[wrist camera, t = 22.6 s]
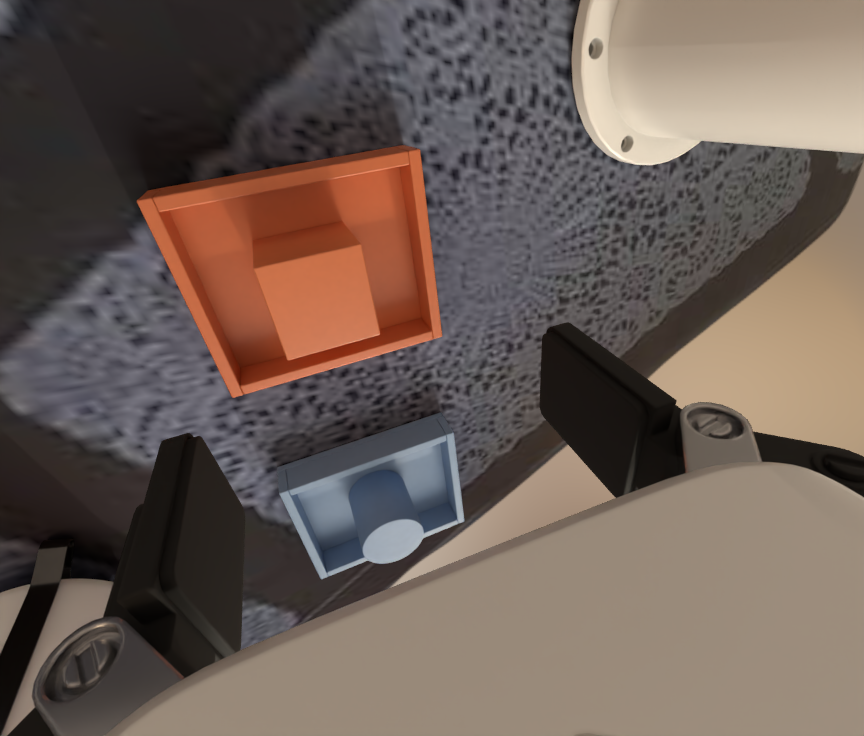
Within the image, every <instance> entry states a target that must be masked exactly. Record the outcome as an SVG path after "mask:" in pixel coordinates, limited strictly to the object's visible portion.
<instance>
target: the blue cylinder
mask: <svg viewBox="0 0 864 736" xmlns="http://www.w3.org/2000/svg"><path fill="white" fill-rule="evenodd" d="M349 502H350V506H351V510H352V514H353V518H354V521H355V525H356V529H357V533H358V537H359V541H360V545H361V548H362V552H363V555H364V557H365V558H366V559H367V560H369V561H371V562H373V563H380V564H383V563H390V562H394V561H397V560H400V559H402V558H404V557H406V556H407V555H409V554H410V553H412V552H413V551H414V550H415V549H416V548H417V547H418V546H419V544H420V543H421V541H422V539H423V535H424V529H423V526H422V524H421V522H420V519H419V517H418V514H417V512H416V510H415V507H414V505H413V502H412V500H411V498H410V495H409V493H408V490H407V488H406V486H405V483H404V481H403V479H402V477H401V476H400V475H399V474H397V473H396V472H393V471H389V470H380V471H375V472H371V473H369V474H367V475H365V476H363V477H362V478H360V479H359V480H358V481H357V482H356V483H355V484H354V485H353V487H352V488H351V490H350V493H349Z"/></svg>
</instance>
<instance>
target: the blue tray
mask: <svg viewBox="0 0 864 736" xmlns="http://www.w3.org/2000/svg"><path fill="white" fill-rule="evenodd" d="M380 470H389V471H393V472H396V473H397V474H399V475H400V476H401V477H402V479H403V481H404V483H405V486H406V488H407V490H408V493H409V495H410V498H411V500H412V502H413V505H414V507H415V510H416V512H417V514H418V517H419V519H420V522H421V524H422V526H423V529H424V535H423V538H424V537H427V536H429V535H432V534H434V533H437V532H439V531H442V530H444V529H446V528H449V527H451V526H454V525H456V524H458V523H461V522H464V514H463V505H462V497H461V489H460V480H459V472H458V464H457V455H456V447H455V438H454V432H453V430H452V429H451V427H450V426H449V424H448V422H447V421H446V419H445V418H444V416H443V414H442V413H441V412H440V413H437V414H434V415H431V416H428V417H425V418H422V419H419V420H416V421H413V422H410V423H407V424H404V425H401V426H398V427H395V428H392V429H389V430H386V431H383V432H380V433H377V434H375V435H372V436H369V437H366V438H363V439H360V440H357V441H354V442H351V443H348V444H345V445H342V446H339V447H336V448H333V449H330V450H327V451H324V452H321V453H318V454H315V455H312V456H309V457H306V458H303V459H300V460H297V461H294V462H291V463H288V464H285V465H283V466H280V467H277V474H278V486H279V494H280V496H281V499H282V501H283V503H284V505H285V507H286V509H287V511H288V513H289V515H290V517H291V519H292V521H293V523H294V525H295V527H296V529H297V531H298V533H299V535H300V537H301V540H302V542H303V544H304V546H305V548H306V550H307V552H308V554H309V556H310V558H311V560H312V562H313V564H314V566H315V568H316V570H317V572H318V574H319V576H320V578H321V579H323V578H326V577H328V576H331V575H333V574H336V573H338V572H341V571H343V570H345V569H348V568H350V567H353V566H355V565H358V564H360V563H363V562H365V561H368V560H367V559H366V558H365V557H364V555H363V552H362V548H361V545H360V541H359V537H358V533H357V529H356V525H355V521H354V518H353V514H352V510H351V506H350V502H349V493H350V490H351V488H352V487H353V485H354V484H355V483H356V482H357V481H358V480H359V479H360V478H362V477H363V476H365V475H367V474H369V473H371V472H375V471H380Z"/></svg>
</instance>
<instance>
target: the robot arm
mask: <svg viewBox="0 0 864 736" xmlns="http://www.w3.org/2000/svg"><path fill="white" fill-rule="evenodd" d="M571 60H572V82H573V90H574V95H575V100H576V105H577V109H578V112H579V115H580V117H581V120H582V122H583V125H584V128H585V129H586V131H587V132H588V134H589V135H590V137H591V139H592V140H593V142H594V143H595V144H596V145H597V146H598V147H599V148H600V149H601V150H602V151H603V152H604V153H605V154H607V155H609V156H610V157H612V158H614V159H616V160H618V161H621V162H626V163H631V164H636V165H654V164H659V163H663V162H667V161H670V160H672V159H674V158H676V157H678V156H680V155H683V154H684V153H685V152H687V151H688V150H690V149H691V148H693V147H694V146H696V145H697V144H698V143H699V142H700V141H712V142H725V143H738V144H750V145H763V146H776V147H788V148H801V149H813V150H826V151H839V152H851V153H864V0H580V5H579V9H578V14H577V19H576V23H575V28H574V36H573V47H572V59H571ZM675 404H676V400H675V399H674V398H672V397H671V396H670V395H668V394H667V393H666V392H664V391H663V390H661V389H660V388H659V387H657V386H656V385H655V384H653V383H652V382H650V381H649V380H648V379H646V378H645V377H644V376H642V375H641V374H639V373H638V372H637V371H635V370H634V369H633V368H631V367H630V366H628V365H627V364H626V363H624V362H623V361H622V360H620V359H619V358H617V357H616V356H615V355H613V354H612V353H611V352H609V351H608V350H606V349H605V348H604V347H602V346H601V345H600V344H598V343H597V342H595V341H594V340H593V339H591V338H590V337H589V336H587V335H586V334H584V333H583V332H582V331H580V330H579V329H578V328H576V327H575V326H573V325H572V324H570V323H563V324H559V325H556V326H553V327H550V328H548V330H547V332H546V334H544V335H543V337H542V356H541V383H540V410H541V413H542V415H543V416H544V418H545V419H546V420H547V421H548V422H549V423H550V425H551V426H552V427H553V428H554V429H555V430H556V431H557V432H558V434H559V435H560V436H561V437H562V438H563V439H564V440H565V441H566V443H567V444H568V445H569V446H570V447H571V448H572V449H573V450H574V452H575V453H576V454H577V455H578V456H579V457H580V458H581V459H582V461H583V462H584V463H585V464H586V465H587V466H588V467H589V468H590V470H592V472H593V473H594V474H595V475H596V476H597V477H598V479H599V480H600V481H601V482H602V483H603V484H604V485H605V486H606V488H607V489H608V490H609V491H610V492H611V493H612V494H613V495H614V496H615V497H616V498H615V499H612V500H610V501H607V502H605V503H602V504H600V505H597V506H595V507H592V508H590V509H587V510H584V511H582V512H579V513H577V514H574V515H572V516H569V517H567V518H564V519H562V520H559V521H557V522H554V523H552V524H549V525H547V526H544V527H541V528H539V529H536V530H534V531H531V532H529V533H526V534H524V535H521V536H519V537H516V538H514V539H512V540H509V541H506V542H504V543H501V544H499V545H496V546H494V547H491V548H489V549H486V550H484V551H481V552H479V553H476V554H474V555H471V556H469V557H466V558H464V559H461V560H459V561H456V562H454V563H451V564H449V565H446V566H444V567H441V568H439V569H436V570H434V571H431V572H429V573H426V574H424V575H421V576H419V577H417V578H414V579H411V580H409V581H407V582H404V583H401V584H399V585H397V586H394V587H392V588H389V589H387V590H384V591H382V592H379V593H377V594H374V595H372V596H369V597H367V598H365V599H362V600H360V601H357V602H355V603H352V604H350V605H347V606H345V607H342V608H340V609H337V610H335V611H333V612H330V613H328V614H325V615H323V616H320V617H318V618H315V619H313V620H311V621H308V622H306V623H304V624H301V625H299V626H296V627H294V628H292V629H289V630H287V631H285V632H282V633H280V634H278V635H275V636H273V637H271V638H268V639H266V640H263V641H261V642H259V643H256V644H254V645H252V646H249V647H247V648H245V649H242V650H240V648H241V629H242V599H243V569H244V539H245V513H244V509H243V507H242V505H241V503H240V501H239V499H238V498H237V496H236V494H235V493H234V491H233V489H232V487H231V486H230V484H229V482H228V481H227V479H226V477H225V476H224V474H223V472H222V470H221V469H220V467H219V465H218V464H217V462H216V460H215V459H214V457H213V455H212V454H211V452H210V450H209V448H208V447H207V445H206V443H205V442H204V440H203V439H202V437H200V436H197V437H193V436H192V435H191V434H190V433H186V434H183V435H179V436H176V437H173V438H169V439H166V440H163V441H162V442H161V444H160V448H159V451H158V455H157V458H156V462H155V466H154V469H153V473H152V476H151V480H150V483H149V487H148V490H147V494H146V497H145V501H144V504H141V505H139V506H138V507H137V508H136V511H135V513H134V515H133V519H132V522H131V525H130V529H129V532H128V535H127V539H126V542H125V545H124V549H123V552H122V555H121V559H120V562H119V565H118V569H117V572H116V575H115V579H114V582H113V585H112V589H111V592H110V595H109V599H108V602H107V605H106V609H105V612H104V615H103V618H99V619H96V620H93V621H91V622H89V623H87V624H85V625H83V626H82V627H80V628H78V629H77V630H76V631H74V632H73V633H72V634H70V635H69V636H68V637H66V638H65V639H64V640H63V641H62V642H61V643H60V644H59V645H58V646H57V647H56V648H55V649H54V650H53V651H52V652H51V654H50V655H49V656H48V658H47V659H46V661H45V662H44V664H43V665H42V666H41V668H40V670H39V672H38V675H37V677H36V679H35V681H34V684H33V691H32V699H33V703H34V706H35V708H34V709H33V710H32V711H31V712H30V713H29V714H28V715H27V716H26V717H25V718H24V719H23V720H22V721H21V722H20V723H19V724H18V725H17V726H16V727H15V728H14V729H13V730H12V731H11V732H10V733H9V734H8V735H7V736H864V457H863V456H861V455H859V454H856V453H853V452H851V451H849V450H845V449H841V448H837V447H833V446H827V445H822V444H817V443H811V442H806V441H801V440H795V439H789V438H785V437H778V436H774V435H768V434H763V433H758V432H753V430H752V427H751V425H750V423H749V422H748V420H747V419H746V418H745V417H744V416H742V414H740V413H738V412H737V411H735V410H733V409H731V408H728V407H726V406H723V405H720V404H715V403H709V402H698V403H692V404H690V405H687V406H685V407H684V408H683V409H680V408H679V407H678V406H676V405H675Z"/></svg>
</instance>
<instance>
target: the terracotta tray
mask: <svg viewBox="0 0 864 736" xmlns="http://www.w3.org/2000/svg"><path fill="white" fill-rule="evenodd" d="M137 203H138V205H139V207H140V210H141V212H142V214H143V216H144V218H145V220H146V222H147V224H148V226H149V228H150V230H151V232H152V234H153V236H154V238H155V240H156V242H157V244H158V246H159V248H160V251H161V253H162V255H163V257H164V259H165V261H166V263H167V265H168V267H169V269H170V271H171V273H172V275H173V277H174V279H175V281H176V283H177V285H178V287H179V289H180V292H181V294H182V296H183V298H184V300H185V302H186V304H187V306H188V308H189V310H190V312H191V314H192V316H193V318H194V320H195V322H196V324H197V326H198V328H199V330H200V333H201V335H202V337H203V339H204V341H205V343H206V345H207V347H208V349H209V351H210V353H211V355H212V357H213V359H214V361H215V363H216V365H217V367H218V369H219V371H220V373H221V376H222V378H223V380H224V382H225V384H226V386H227V388H228V390H229V392H230V394H231V396H232V397H233V398H234V397H238V396H241V395H243V393H244V394H248V393H251V392H255V391H258V390H261V389H265V388H268V387H272V386H275V385H278V384H282V383H285V382H289V381H292V380H296V379H299V378H302V377H306V376H309V375H313V374H316V373H319V372H323V371H326V370H330V369H333V368H336V367H340V366H343V365H347V364H350V363H354V362H357V361H360V360H364V359H367V358H371V357H374V356H377V355H381V354H384V353H388V352H391V351H394V350H398V349H401V348H405V347H408V346H412V345H415V344H418V343H422V342H425V341H429V340H432V339H435V338H439V337H442V330H441V321H440V313H439V305H438V296H437V288H436V280H435V271H434V263H433V254H432V246H431V238H430V229H429V221H428V213H427V204H426V196H425V187H424V179H423V171H422V162H421V154H420V149H417V148H413V147H409V146H406V145H400V146H395V147H389V148H383V149H378V150H372V151H367V152H361V153H355V154H350V155H344V156H339V157H333V158H327V159H322V160H316V161H310V162H305V163H299V164H294V165H288V166H282V167H277V168H271V169H265V170H260V171H254V172H249V173H243V174H237V175H232V176H226V177H220V178H215V179H209V180H204V181H198V182H192V183H187V184H181V185H175V186H170V187H164V188H159V189H153V190H148V191H147V192H146V193H145V194H144V195H143V196H141V197H140V198H139V199H138V200H137ZM339 221H343V223H344V224H345V225H346V226H347V228H348V229H349V230H350V231H351V232H352V234H353V235H354V236H355V237H356V238H357V240H358V241H359V242H360V243H361V245H362V249H363V254H364V259H365V264H366V268H367V273H368V278H369V282H370V287H371V292H372V296H373V301H374V306H375V310H376V315H377V320H378V324H379V329H380V335H377V336H373V337H370V338H366V339H363V340H359V341H356V342H352V343H349V344H345V345H341V346H338V347H334V348H331V349H327V350H324V351H320V352H317V353H313V354H310V355H306V356H302V357H299V358H295V359H292V360H287V359H286V356H285V353H284V351H283V348H282V345H281V342H280V340H279V337H278V334H277V332H276V329H275V326H274V324H273V321H272V318H271V316H270V313H269V310H268V307H267V305H266V302H265V299H264V297H263V294H262V291H261V289H260V286H259V283H258V281H257V278H256V275H255V272H254V270H253V247H252V240H255V239H260V238H264V237H269V236H274V235H278V234H283V233H288V232H292V231H297V230H302V229H307V228H311V227H316V226H321V225H325V224H330V223H335V222H339Z"/></svg>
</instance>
